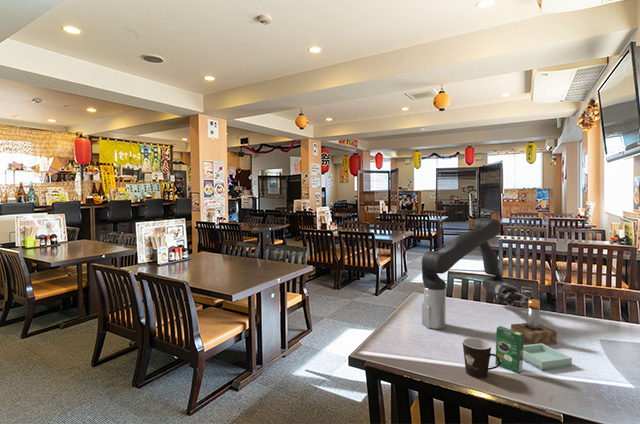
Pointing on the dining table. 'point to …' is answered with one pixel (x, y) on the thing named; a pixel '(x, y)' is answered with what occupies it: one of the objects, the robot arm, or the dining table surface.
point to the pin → (533, 314)
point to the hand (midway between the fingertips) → (521, 302)
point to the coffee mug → (477, 357)
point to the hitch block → (536, 334)
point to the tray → (545, 357)
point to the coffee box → (509, 349)
